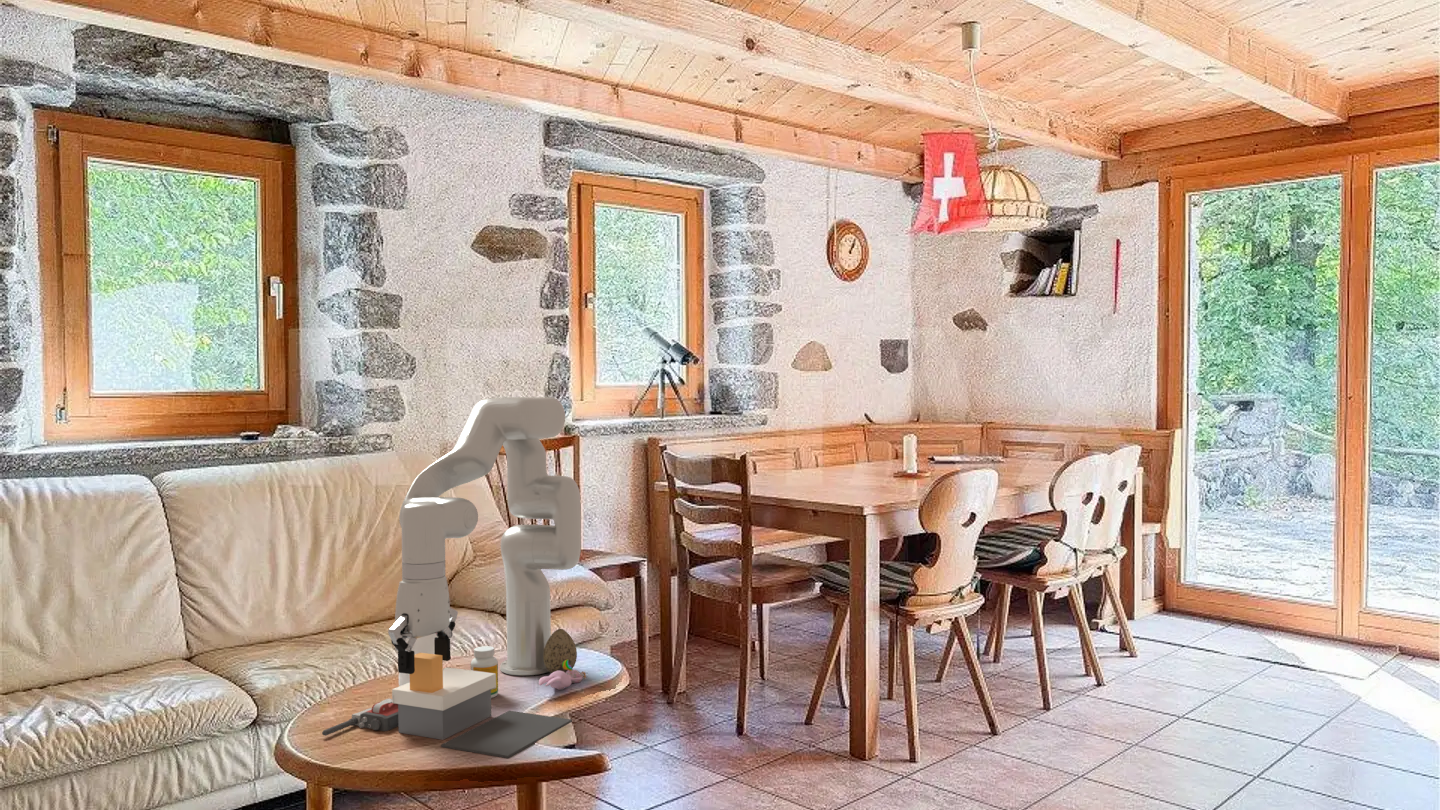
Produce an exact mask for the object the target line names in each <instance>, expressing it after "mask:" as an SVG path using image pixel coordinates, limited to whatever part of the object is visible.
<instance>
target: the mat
mask: <svg viewBox="0 0 1440 810" xmlns="http://www.w3.org/2000/svg"><path fill="white" fill-rule="evenodd" d="M570 723H573V719H571V718H564V717H563V718H562V717H556V716H549V715H543V714H537V713H529V712H522V711H516V710H508V711H505V712H504V713H501V714H500V715H497V716H495V717H494V718H492V719H490V720H488V721H485V722H484V723H482V724H479V725H478V726H476V727H474V728H472V729H469V730H467V731H466V732H464V733H462V734H460V735H458V736H455V737H453V738H451V739H450V740H448V741H447V740H446V741H445V742H444V743H442V744H440V747H441V748H446V749H451V750H456V751H457V750H458V751H464V752H471V753H475V754H481V755H487V756H493V757H499V758H506V759H509V758H511V757H512V756H515V755H516V754H517V753H518V754H519V752H521V751H523V750H525V749H526V748H528V747H530V746H533V744H535V743H538V742H540V741H541V740H542V739H545V737H548V736H550V735H552V734H553V733H554V732H557V731H558V730H560V729H562V728H563V727H565V726H567V725H569V724H570Z"/></svg>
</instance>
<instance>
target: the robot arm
mask: <svg viewBox="0 0 1440 810" xmlns="http://www.w3.org/2000/svg"><path fill="white" fill-rule="evenodd" d="M565 423H566V412H565V408H564V406H563V404H562V403H561V402H560V400H559V399H558V398H556V397H550V396H549V397H548V396H547V397H544V396H543V397H540V396H539V397H536V396H535V397H525V396H524V397H523V396H522V397H519V396H516V397H515V396H514V397H512V396H511V397H497V398H495V397H494V398H485V399H481V400H480V401H478V402H477V403H476V404H475V405H474V406H473V407H472V409H471V411H470V412H469V415H468V417H467V419H466V421H465V423H464V425H463V428H462V429H461V431H460V434H459V436H458V438H457V439H456V441H455V444H454V446H453V448H452V450H451V451H449V452H448V453H446V454H445V455H443V456H441V457H440V458H438V459H437V460H436V461H435V462H433V463H431V464H430V465H428V466H427V467H426V468H425V469H423V470H422V471H421V472H420V473H419V474H418V475H417V476H416V478H414V480H413V481H412V483H411V485H410V487H409V489H408V491H407V493H406V495H405V497H404V499H403V501H402V504H401V506H400V511H399V517H398V518H399V519H398V521H399V524H400V528H401V568H402V569H401V581H399V582H398V583H399V584H398V587H397V592H396V600H395V613H394V614H395V615H394V623H393V624H392V626H391V627H390V628H389V629H388V630H387V632H388V636H389V638H390V640H391V641H390V642H391V644H392V645H393V646H394V649H395V651H397V671H398V674H399V673H406V674H413V673H414V672H415V660H414V651H411V650H412V648H413V646H414V643H415V641H416V639H417V638H421V637H425V636H428V635H431V634H434V633H435V634H436V635H437V637H436V638H435V640H434V652H435V654H436V655H442V660H443V661H445V662H448V661H450V660H451V639H452V638H453V631H454V629H455V627H456V620H457V617H458V613H459V612H458V610H457V609H454V608H453V607H451V606H450V605H451V603H450V593H449V591H450V590H449V584H448V580H447V576H446V540H447V539H461V538H464V537H467V536H468V535H470V534H471V533H472V532H473V531H474V530H475V529H476V526H477V524H478V521H479V518H478V517H479V514H478V509H477V507H476V506H475V504H474V503H473V502H472V501H471V500H469V499H466V498H461V497H446V496H445V497H444V496H441V495H443V494H444V493H446V492H447V491H449V490H451V489H454V488H456V487H458V486H459V487H460V486H461V485H465V484H468V483H471V482H473V481H476V480H478V479H481V478H483V477H485V476H486V475H488V474H489V473H490V472H491V471H492V469H493V467H494V466H495V463H496V460H497V458H498V456H499V454H500V452H501V449H502V448H504V449H503V450H504V451H505V454H506V467H507V468H506V470H507V471H506V473H507V474H506V475H507V478H506V479H507V481H506V485H507V487H506V488H507V490H506V492H507V493H506V494H507V495H506V497H507V506H508V511H509V512H510V514H511V516H513V517H516V518H520V519H527V520H528V519H529V520H530V519H531V520H533V519H534V520H552V521H553V522H554V525H551V524H550V525H547V524H546V525H544V524H517V525H516V524H515V525H513V526H511V527H509V528H507V529H506V530H505V531H504V533H503V534H502V536H501V539H500V554H501V559H502V563H503V569H504V576H505V577H504V578H505V596H506V597H505V599H506V601H505V602H506V605H505V607H506V608H505V609H506V616H505V617H506V648H507V649H506V658H507V659H505V660H503V661H502V662H501V663H500V665H499V670H500V671H501V672H502V673H504V674H507V675H510V676H534V675H535V676H537V675H541V674H546V673H550V672H549V671H548V670H547V668H546V666H545V664H544V660H543V652H544V648H545V645H546V643H547V641H548V639H549V638H550V636H551V635H552V634H551V633H552V632H551V631H552V628H551V626H552V625H551V623H552V622H551V587H550V584H549V581H548V579H547V577H546V576H545V574H544V572H543V571H542V570H556V571H557V570H560V571H564V570H570V569H574V568H575V567H576V566H577V564H578V563H579V561H580V557H581V552H582V509H581V508H582V503H581V501H582V499H581V491H580V489H579V486H578V483H577V482H576V480H574V479H573V478H571V477H570V476H566V475H549V474H548V471H547V452H546V448H545V447H544V445H543V443H542V442H541V440H542V439H543V440H544V439H550V438H555V437H557V436H558V435H559V434H561V432H562V430H563V428H564V426H565ZM406 639H409V640H408V642H407V643H406V642H405V640H406Z"/></svg>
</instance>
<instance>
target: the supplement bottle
mask: <svg viewBox="0 0 1440 810" xmlns="http://www.w3.org/2000/svg"><path fill="white" fill-rule="evenodd" d="M473 656H474V658H472V659H471V662H470V670H473V671H480V672H488V673H496V687H494V688H492V689H491V699H493V698H495V697H496V696H498V694H499V670H498V669H499V662H498V658H496V657H495V647H494V646H491V645H483V646H478V647H475V648H474V649H473Z"/></svg>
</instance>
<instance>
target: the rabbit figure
mask: <svg viewBox="0 0 1440 810" xmlns="http://www.w3.org/2000/svg"><path fill="white" fill-rule="evenodd" d="M562 666H563V668H564V669H565V670H568V671H567V672H566V673H565V672H563V671H555V672H553V673H550V674H549V675H545V676H542V677H540V678H539V680H538V685H539V686H542V685H544V684H545V685H544V686H545V687H549V686H550V687H551V688H553V689H557V690H559V691H560V690H564V689H566V688H569V687H570V686H571V685H572V684H575V683H576V684H577V683H581V682H582V680H583V678H584V680H586V678H587V675H586V671H581V672H580V671H578V670H577V669H574V668H573V669H572V667H571V666H570V665H569V664H568V659H567V660H565V661H564V662H563V665H562Z"/></svg>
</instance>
